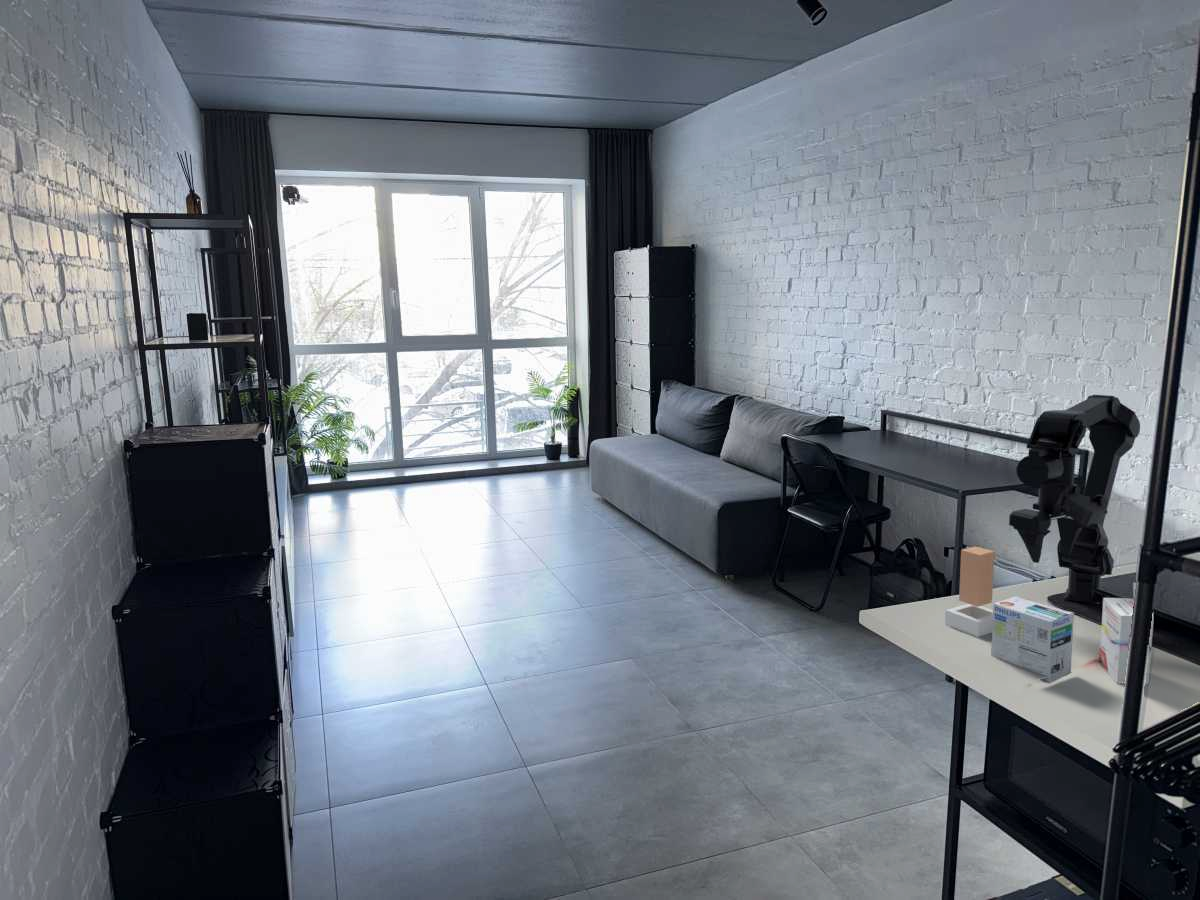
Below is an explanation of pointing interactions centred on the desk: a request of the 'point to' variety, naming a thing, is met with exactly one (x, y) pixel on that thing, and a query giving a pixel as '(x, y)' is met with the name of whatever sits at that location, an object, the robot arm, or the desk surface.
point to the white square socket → (970, 619)
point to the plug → (976, 576)
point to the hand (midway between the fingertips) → (1051, 558)
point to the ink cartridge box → (1118, 636)
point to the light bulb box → (1033, 636)
